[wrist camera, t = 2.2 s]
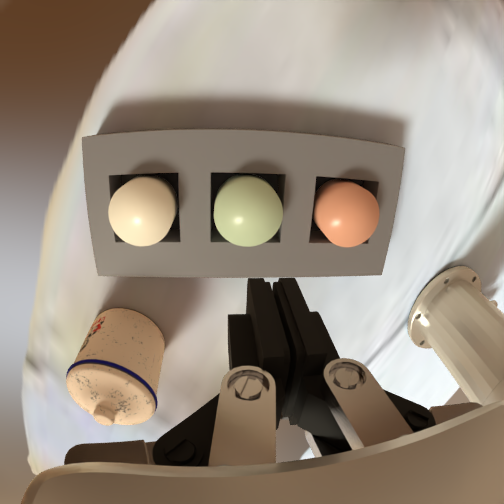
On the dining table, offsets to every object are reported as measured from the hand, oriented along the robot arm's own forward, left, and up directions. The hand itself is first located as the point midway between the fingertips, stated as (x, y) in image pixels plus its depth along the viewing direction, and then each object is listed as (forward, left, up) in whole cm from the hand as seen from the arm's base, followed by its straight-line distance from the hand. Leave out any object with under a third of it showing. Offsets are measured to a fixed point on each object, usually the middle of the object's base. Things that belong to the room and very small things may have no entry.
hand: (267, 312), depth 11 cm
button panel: (0, 0, -16) cm, 16 cm away
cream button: (+8, 0, -15) cm, 17 cm away
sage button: (0, 0, -15) cm, 15 cm away
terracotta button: (-8, 0, -15) cm, 17 cm away
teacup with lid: (+13, +17, -17) cm, 27 cm away
